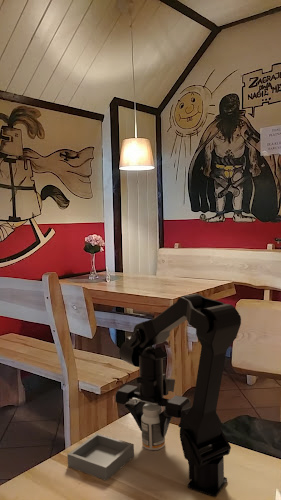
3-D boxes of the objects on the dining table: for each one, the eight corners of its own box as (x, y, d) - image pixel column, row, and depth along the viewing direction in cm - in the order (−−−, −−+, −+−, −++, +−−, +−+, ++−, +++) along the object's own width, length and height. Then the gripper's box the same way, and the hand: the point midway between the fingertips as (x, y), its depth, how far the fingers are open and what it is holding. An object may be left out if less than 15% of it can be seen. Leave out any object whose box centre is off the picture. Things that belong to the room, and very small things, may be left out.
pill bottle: (165, 439, 114) (164, 401, 113) (164, 451, 108) (163, 412, 107) (143, 438, 114) (141, 401, 113) (140, 451, 108) (139, 411, 108)
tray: (134, 456, 106) (133, 444, 106) (106, 480, 97) (105, 467, 97) (97, 444, 112) (96, 432, 112) (68, 466, 103) (67, 454, 103)
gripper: (200, 367, 111) (201, 428, 113) (136, 356, 121) (138, 412, 122) (179, 383, 102) (181, 449, 103) (112, 370, 112) (115, 429, 113)
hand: (153, 433), depth 111 cm, fingers closed on pill bottle, 6 cm apart
